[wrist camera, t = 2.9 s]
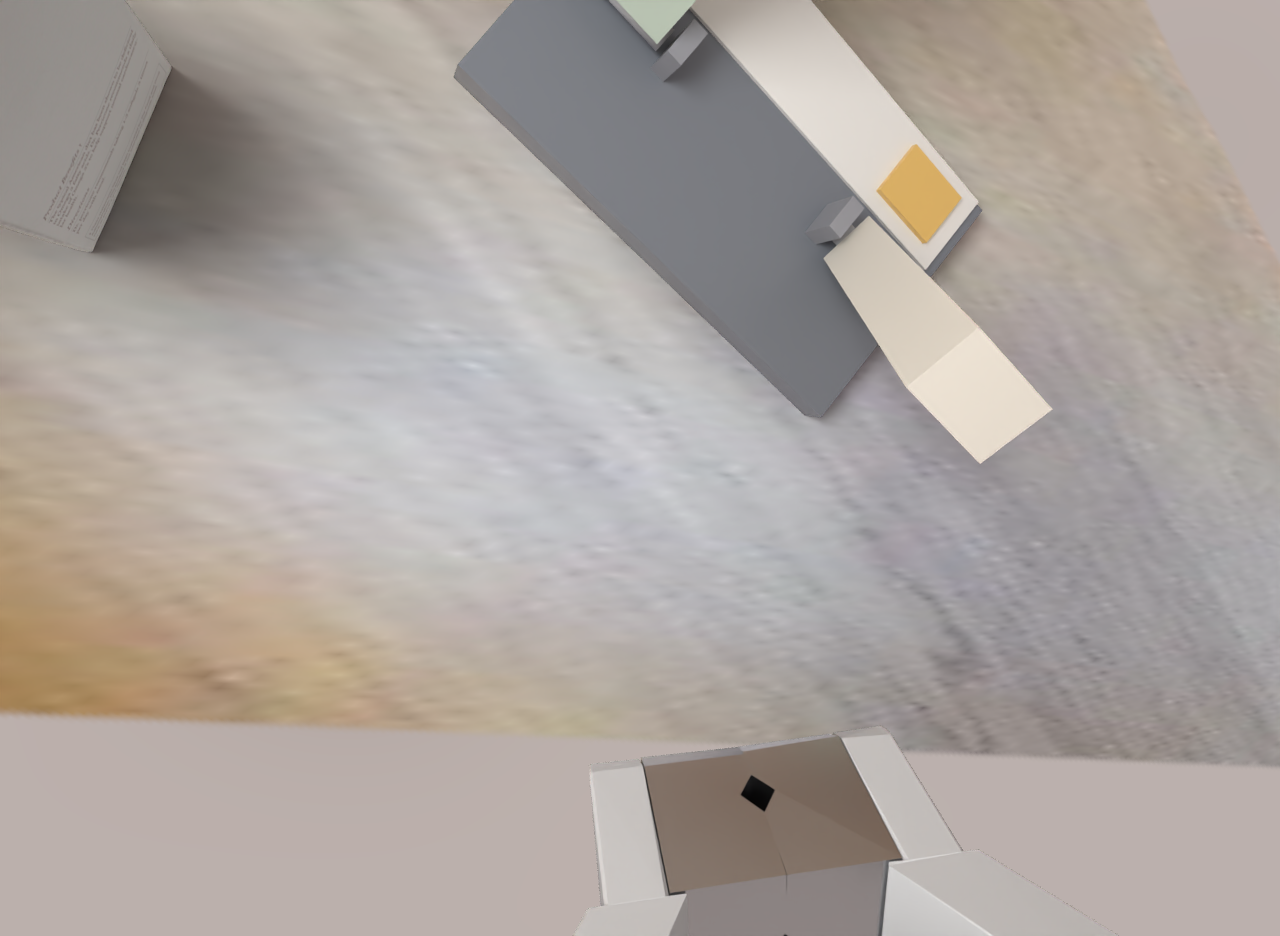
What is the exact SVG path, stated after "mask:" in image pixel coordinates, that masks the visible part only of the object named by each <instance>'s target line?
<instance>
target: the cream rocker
mask: <svg viewBox="0 0 1280 936" xmlns="http://www.w3.org/2000/svg"><path fill="white" fill-rule="evenodd" d="M832 241H833V242H834V243H835V244H836V247H835V248H834V249H833V250H831V251H830V252H829V253H828V254H827V255H826V256H825V257H824V258H823V259H824V260H825V262H826V263H827V265H828V266H829V268H830V270H831V271H832V273H833V274H834V276H835V277H836V279H837V280H838V282H839V284H840V285H841V287H842V288H843V290H844V291H845V293H846V294H847V296H848V298H849V299H850V301H851V302H852V304H853V305H854V307H855V309H856V310H857V312H858V313H859V315H860V316H861V318H862V319H863V321H864V323H865V324H866V326H867V327H868V329H869V330H870V332H871V333H872V335H873V337H874V338H875V340H876V341H877V343H878V344H879V346H880V348H881V349H882V351H883V352H884V354H885V355H886V357H887V358H888V360H889V362H890V363H891V365H892V366H893V368H894V369H895V371H896V372H897V374H898V376H899V377H900V379H901V380H902V382H903V383H904V385H905V387H906V388H907V389H908V390H909V391H910V392H911V393H912V394H913V395H914V396H915V397H916V398H917V399H918V400H919V401H920V402H921V403H922V404H923V405H924V406H925V407H926V409H927V410H928V411H929V412H930V413H931V414H932V415H933V416H934V417H935V418H936V419H937V420H938V421H939V422H940V423H941V424H942V425H943V426H944V427H945V428H946V429H947V430H948V431H949V432H950V433H951V434H952V436H953V437H954V438H955V439H956V440H957V441H958V442H959V443H960V444H961V445H962V446H963V447H964V448H965V449H966V450H967V451H968V452H969V453H970V454H971V455H972V456H973V457H974V458H975V459H976V460H977V461H978V462H979V464H981V463H982V462H983V461H985V460H986V459H987V458H989V457H990V456H991V455H993V454H994V453H995V452H997V451H998V450H999V449H1001V448H1002V447H1003V446H1004V445H1006V444H1007V443H1008V442H1010V441H1011V440H1012V439H1014V438H1015V437H1016V436H1018V435H1019V434H1020V433H1022V432H1023V431H1024V430H1026V429H1027V428H1028V427H1030V426H1031V425H1032V424H1034V423H1035V422H1036V421H1038V420H1039V419H1040V418H1042V417H1043V416H1044V415H1046V414H1047V413H1048V412H1050V411H1051V410H1052V408H1051V407H1050V406H1049V405H1048V404H1047V403H1046V401H1045V400H1044V399H1043V398H1042V397H1041V396H1040V395H1039V394H1038V392H1037V391H1036V390H1035V389H1034V388H1033V387H1032V386H1031V385H1030V383H1029V382H1028V381H1027V380H1026V379H1025V378H1024V377H1023V376H1022V374H1021V373H1020V372H1019V371H1018V370H1017V369H1016V368H1015V367H1014V365H1013V364H1012V363H1011V362H1010V361H1009V360H1008V359H1007V358H1006V356H1005V355H1004V354H1003V353H1002V352H1001V351H1000V350H999V349H998V347H997V346H996V345H995V344H994V343H993V342H992V341H991V340H990V339H989V337H988V336H987V335H986V334H985V333H984V332H983V331H982V330H981V328H980V327H979V326H978V325H977V324H976V323H975V322H974V321H973V320H972V319H971V318H970V317H969V316H968V315H967V314H966V313H965V312H964V311H963V310H962V309H961V308H960V307H959V306H958V305H957V304H956V303H955V302H954V301H953V300H952V299H951V298H950V297H949V296H948V295H947V294H946V293H945V292H944V291H943V290H942V289H941V288H940V287H939V286H938V285H937V284H936V283H935V282H934V281H933V280H932V279H931V278H930V277H929V276H928V275H927V274H926V273H925V272H924V271H923V270H922V269H921V268H920V267H919V266H918V265H917V264H916V263H915V262H914V261H913V260H912V259H911V258H910V257H909V256H908V255H907V254H906V253H905V252H904V251H903V250H902V249H901V248H900V247H899V246H898V245H897V244H896V243H895V242H894V241H893V240H892V239H891V237H890V236H889V235H888V234H887V233H886V232H885V231H884V230H883V229H882V228H881V227H880V226H879V225H878V224H877V223H876V222H875V221H874V220H873V219H872V218H871V217H870V216H868V217H867V218H866V219H865V220H864V221H863V222H862V223H860V224H859V225H858V226H857V227H856V228H855V227H854V226H853V225H851V226H850V227H849V228H848V230H847V231H846V232H845V233H844V235H843V236H842V237H841V238H839V239H835V240H832Z"/></svg>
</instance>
